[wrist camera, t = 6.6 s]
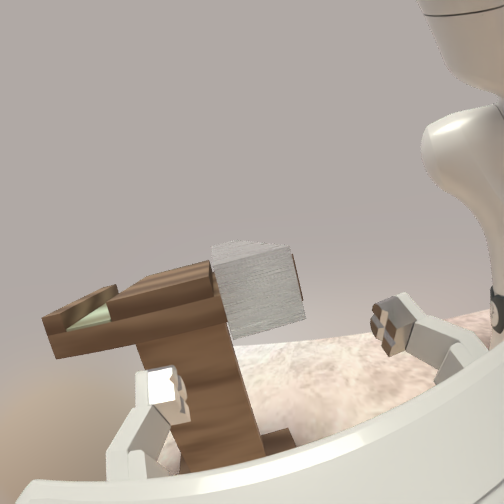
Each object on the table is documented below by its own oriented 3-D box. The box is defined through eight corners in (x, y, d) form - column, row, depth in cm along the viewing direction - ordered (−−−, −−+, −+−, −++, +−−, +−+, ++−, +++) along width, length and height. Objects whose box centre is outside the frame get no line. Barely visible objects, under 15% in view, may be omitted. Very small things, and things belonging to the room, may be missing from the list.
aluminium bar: (305, 318, 12) (289, 245, 12) (233, 339, 12) (212, 265, 12) (241, 264, 38) (235, 240, 38) (217, 270, 38) (210, 246, 38)
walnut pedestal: (341, 502, 25) (292, 253, 22) (163, 539, 22) (41, 317, 20) (302, 430, 40) (258, 247, 38) (172, 461, 38) (102, 287, 36)
